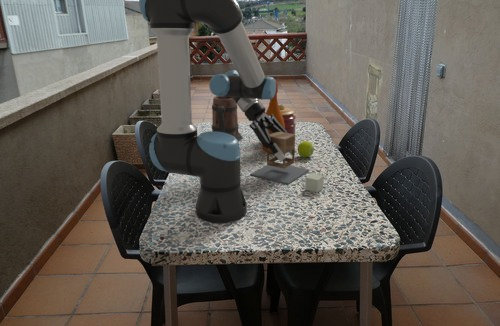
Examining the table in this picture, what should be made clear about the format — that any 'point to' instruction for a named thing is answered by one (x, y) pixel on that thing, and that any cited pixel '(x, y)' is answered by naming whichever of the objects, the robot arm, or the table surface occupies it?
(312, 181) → the block
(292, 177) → the mat
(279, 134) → the wooden nightstand
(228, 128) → the tankard
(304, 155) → the tennis ball
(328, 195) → the table surface
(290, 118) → the canister
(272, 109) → the wine bottle
